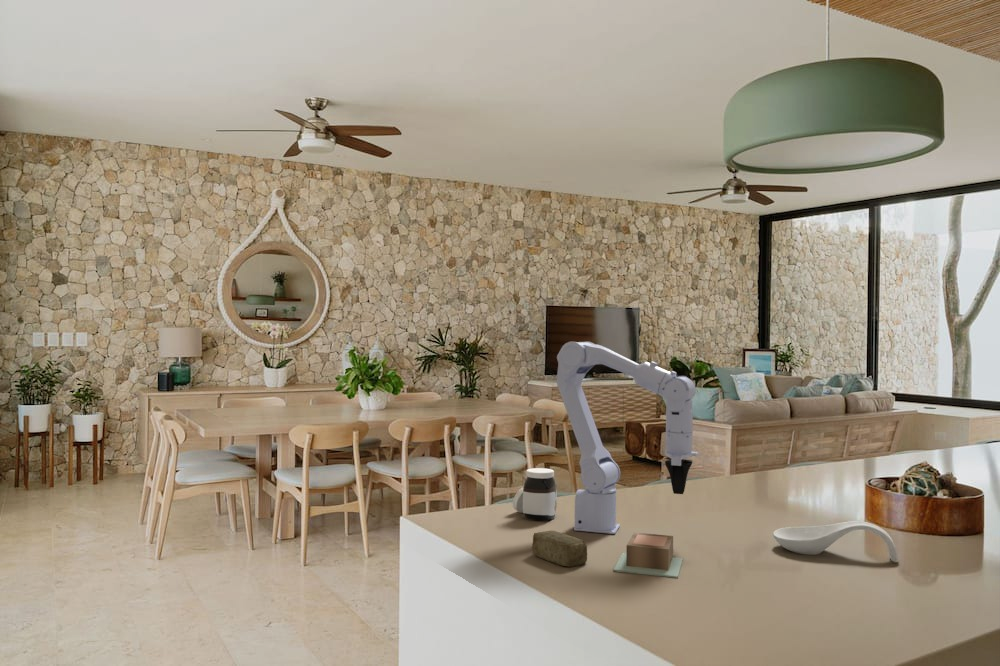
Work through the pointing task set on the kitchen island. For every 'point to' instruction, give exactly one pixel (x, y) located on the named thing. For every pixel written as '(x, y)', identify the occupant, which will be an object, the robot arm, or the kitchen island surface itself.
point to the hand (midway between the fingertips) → (678, 493)
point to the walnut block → (650, 551)
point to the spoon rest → (826, 537)
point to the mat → (672, 571)
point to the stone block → (559, 548)
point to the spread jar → (537, 495)
